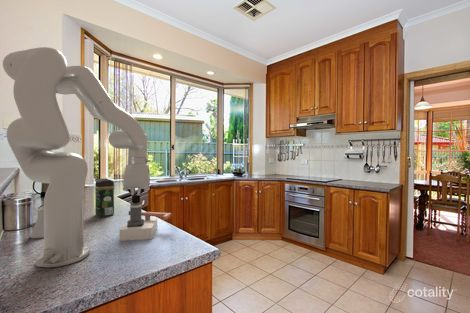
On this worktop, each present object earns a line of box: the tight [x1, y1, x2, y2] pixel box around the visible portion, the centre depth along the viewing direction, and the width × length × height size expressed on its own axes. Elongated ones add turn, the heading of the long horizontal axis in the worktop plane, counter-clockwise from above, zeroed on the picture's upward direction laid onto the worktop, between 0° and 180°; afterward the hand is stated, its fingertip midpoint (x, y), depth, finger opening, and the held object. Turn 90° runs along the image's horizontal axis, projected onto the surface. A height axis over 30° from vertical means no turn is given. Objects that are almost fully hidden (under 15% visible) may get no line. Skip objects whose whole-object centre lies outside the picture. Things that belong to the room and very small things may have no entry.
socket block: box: [118, 216, 158, 242], centre depth 89 cm, size 14×11×6 cm
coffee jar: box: [94, 177, 115, 218], centre depth 116 cm, size 10×8×19 cm
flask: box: [29, 209, 44, 239], centre depth 86 cm, size 7×7×10 cm
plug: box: [126, 202, 144, 227], centre depth 88 cm, size 6×6×12 cm
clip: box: [128, 210, 172, 221], centre depth 93 cm, size 18×6×2 cm, turn 82°
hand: (135, 204), depth 97 cm, fingers closed
